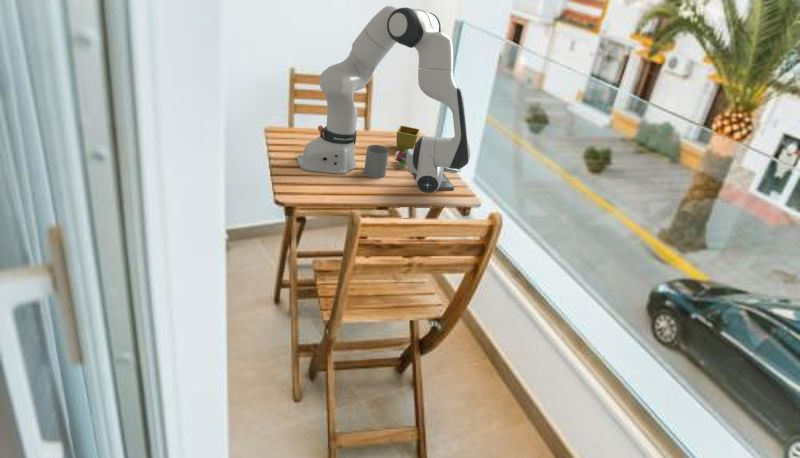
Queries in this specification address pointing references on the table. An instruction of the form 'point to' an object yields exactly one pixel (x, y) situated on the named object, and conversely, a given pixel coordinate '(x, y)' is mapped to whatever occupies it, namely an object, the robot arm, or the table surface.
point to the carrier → (444, 183)
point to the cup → (376, 161)
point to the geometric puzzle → (401, 157)
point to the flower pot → (406, 137)
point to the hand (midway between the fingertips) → (434, 153)
